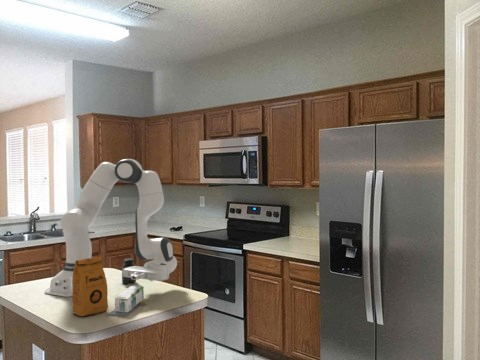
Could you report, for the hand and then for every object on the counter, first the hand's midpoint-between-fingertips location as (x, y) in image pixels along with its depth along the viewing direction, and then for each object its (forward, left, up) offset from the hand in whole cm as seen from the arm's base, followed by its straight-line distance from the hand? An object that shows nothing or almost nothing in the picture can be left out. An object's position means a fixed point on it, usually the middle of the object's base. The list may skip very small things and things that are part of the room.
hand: (134, 277), depth 174 cm
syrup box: (0, +2, -7) cm, 7 cm away
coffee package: (-12, -14, -11) cm, 21 cm away
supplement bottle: (-17, +29, -11) cm, 36 cm away
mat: (0, -9, -11) cm, 14 cm away
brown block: (+1, -1, -11) cm, 11 cm away
